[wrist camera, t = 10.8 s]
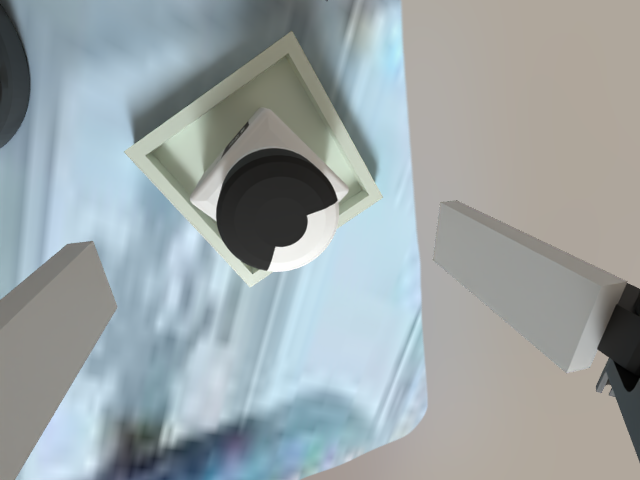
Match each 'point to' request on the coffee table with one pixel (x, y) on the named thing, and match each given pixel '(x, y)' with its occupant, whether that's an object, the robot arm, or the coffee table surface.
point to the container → (271, 196)
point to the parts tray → (227, 120)
